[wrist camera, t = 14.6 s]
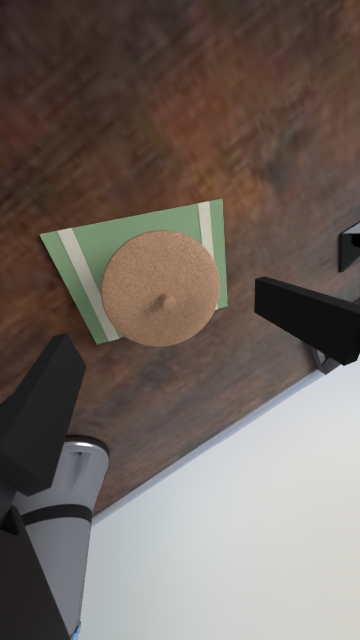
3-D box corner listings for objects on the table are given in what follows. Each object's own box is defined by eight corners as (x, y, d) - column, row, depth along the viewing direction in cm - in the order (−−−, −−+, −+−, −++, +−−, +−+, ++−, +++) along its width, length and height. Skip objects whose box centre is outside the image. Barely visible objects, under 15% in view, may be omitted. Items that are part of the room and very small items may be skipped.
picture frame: (317, 369, 43) (380, 324, 42) (325, 374, 41) (391, 328, 40) (307, 336, 36) (381, 282, 35) (316, 341, 35) (395, 284, 33)
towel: (97, 342, 25) (96, 345, 24) (41, 234, 18) (38, 234, 17) (225, 304, 28) (228, 306, 27) (220, 199, 21) (222, 198, 20)
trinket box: (143, 329, 25) (151, 376, 17) (88, 263, 20) (60, 286, 11) (206, 288, 25) (244, 316, 17) (168, 210, 19) (197, 195, 11)
